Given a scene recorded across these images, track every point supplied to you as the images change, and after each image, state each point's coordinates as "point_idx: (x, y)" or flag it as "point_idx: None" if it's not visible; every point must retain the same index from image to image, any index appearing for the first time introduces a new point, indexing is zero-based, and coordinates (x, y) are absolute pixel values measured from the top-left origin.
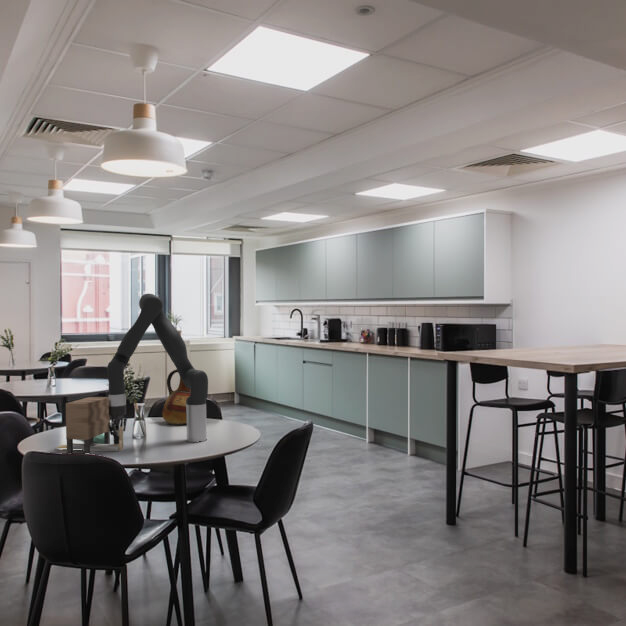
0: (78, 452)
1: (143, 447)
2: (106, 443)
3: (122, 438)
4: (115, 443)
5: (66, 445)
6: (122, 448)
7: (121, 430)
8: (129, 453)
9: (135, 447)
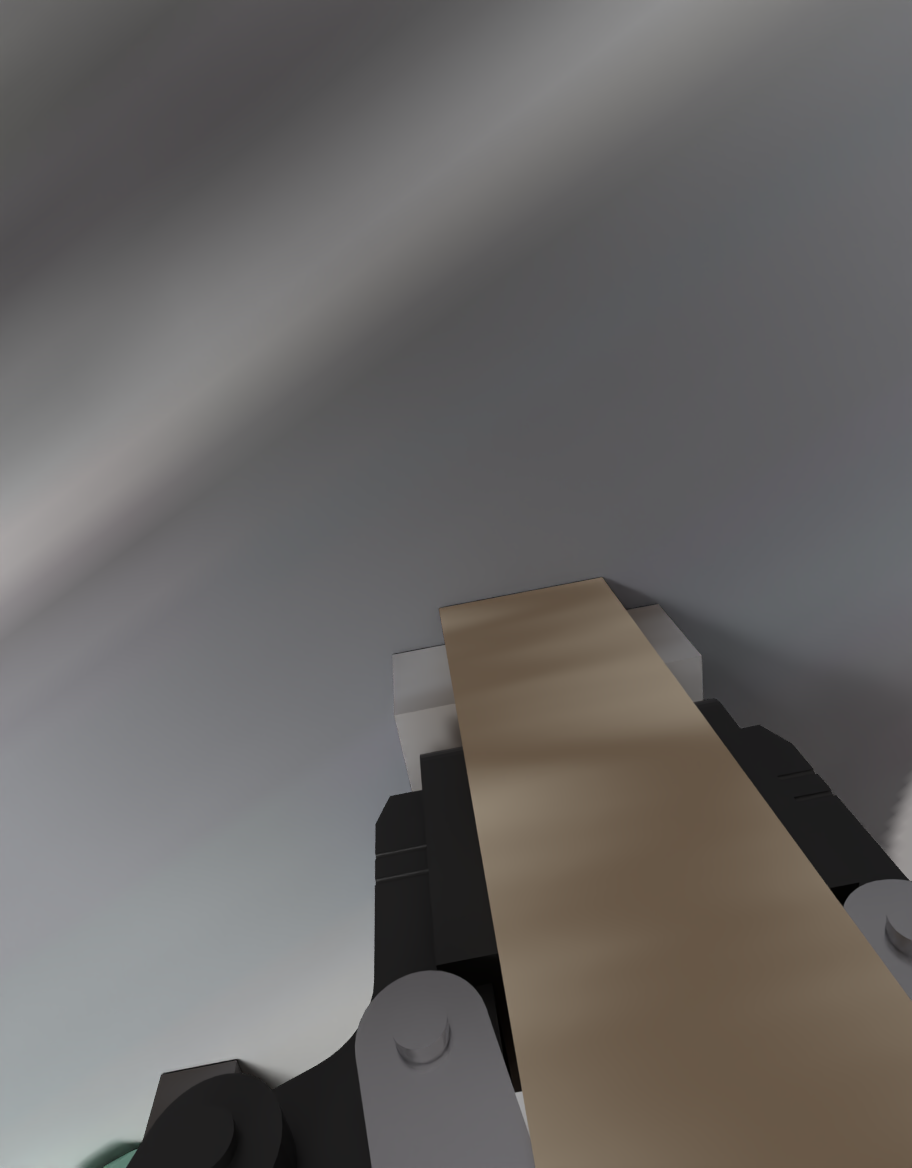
0: None
1: (21, 198)
2: None
3: (539, 774)
4: None
5: None
6: (496, 612)
7: (754, 1087)
8: (848, 145)
9: (132, 451)
